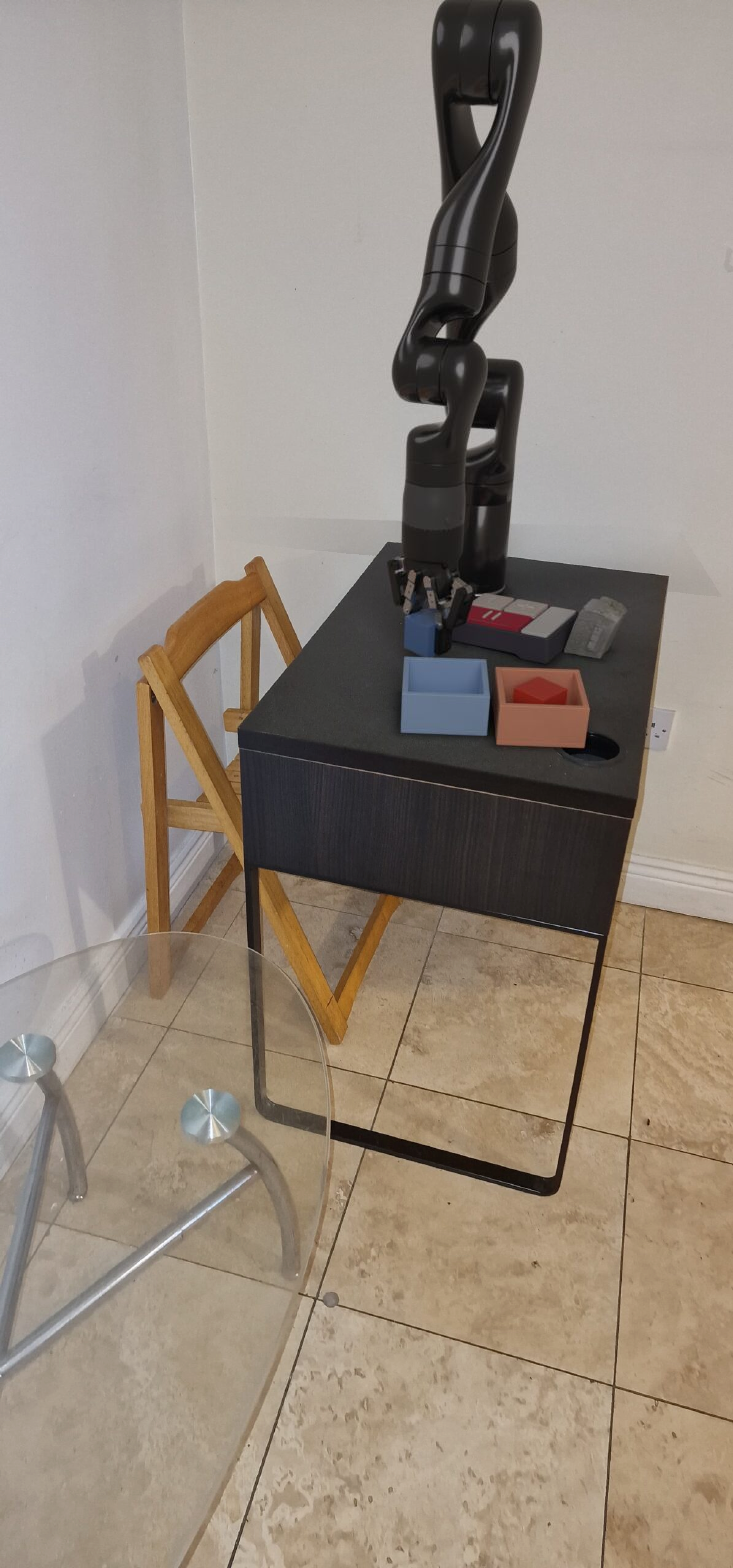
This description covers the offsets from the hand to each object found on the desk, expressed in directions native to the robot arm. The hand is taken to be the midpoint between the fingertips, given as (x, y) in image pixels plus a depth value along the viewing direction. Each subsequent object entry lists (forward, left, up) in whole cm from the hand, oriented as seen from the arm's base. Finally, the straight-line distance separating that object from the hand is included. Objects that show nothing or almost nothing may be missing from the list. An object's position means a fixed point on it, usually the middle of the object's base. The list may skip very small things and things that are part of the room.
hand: (427, 645), depth 132 cm
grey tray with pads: (-10, +12, -3) cm, 16 cm away
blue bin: (+12, +2, -3) cm, 13 cm away
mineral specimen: (-6, +22, -3) cm, 24 cm away
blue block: (0, 0, 0) cm, 0 cm away
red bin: (+14, +13, -3) cm, 20 cm away
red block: (+15, +13, -3) cm, 20 cm away
